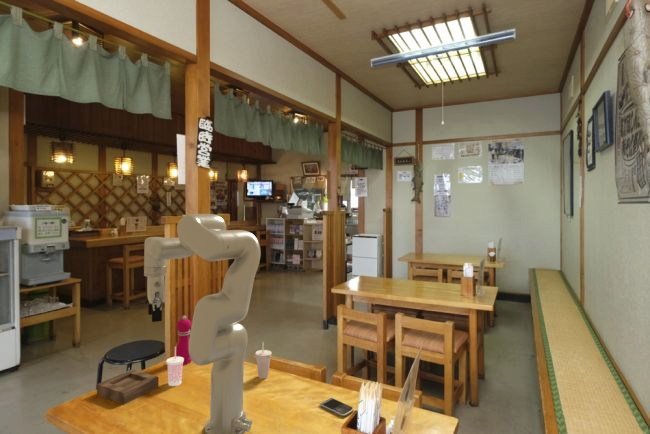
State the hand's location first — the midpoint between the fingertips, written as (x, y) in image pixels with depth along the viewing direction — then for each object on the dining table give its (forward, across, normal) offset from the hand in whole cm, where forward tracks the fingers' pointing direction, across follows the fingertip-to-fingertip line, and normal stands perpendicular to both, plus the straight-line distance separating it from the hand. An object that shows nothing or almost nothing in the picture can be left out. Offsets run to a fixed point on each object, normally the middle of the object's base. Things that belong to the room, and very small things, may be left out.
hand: (154, 317), depth 139 cm
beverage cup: (+26, 0, -7) cm, 27 cm away
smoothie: (+26, -11, -38) cm, 48 cm away
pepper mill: (+26, +18, -14) cm, 35 cm away
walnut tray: (+26, +1, +8) cm, 28 cm away
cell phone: (+26, -45, -50) cm, 73 cm away
